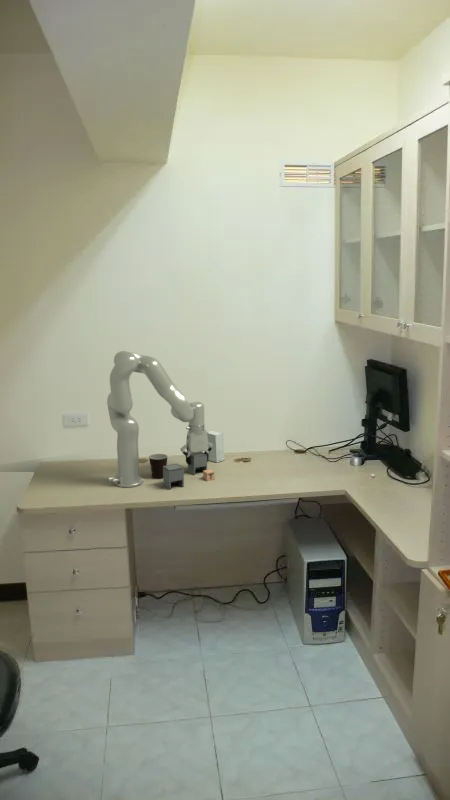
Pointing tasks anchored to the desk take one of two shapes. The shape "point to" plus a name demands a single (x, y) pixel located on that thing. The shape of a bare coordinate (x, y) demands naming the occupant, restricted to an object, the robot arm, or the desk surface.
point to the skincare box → (216, 446)
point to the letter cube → (208, 475)
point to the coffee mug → (157, 465)
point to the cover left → (173, 475)
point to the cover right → (197, 462)
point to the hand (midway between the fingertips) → (197, 462)
